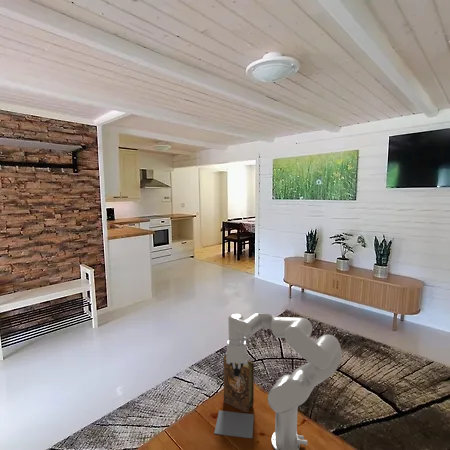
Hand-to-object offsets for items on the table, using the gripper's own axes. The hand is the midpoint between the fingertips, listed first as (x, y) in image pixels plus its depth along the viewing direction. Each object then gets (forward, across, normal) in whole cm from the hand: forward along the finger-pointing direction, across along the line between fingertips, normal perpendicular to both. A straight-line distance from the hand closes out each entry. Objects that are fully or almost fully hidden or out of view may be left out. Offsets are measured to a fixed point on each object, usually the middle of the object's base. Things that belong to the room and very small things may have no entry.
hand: (237, 374), depth 139 cm
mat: (+23, +1, +4) cm, 24 cm away
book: (+23, +1, -10) cm, 25 cm away
